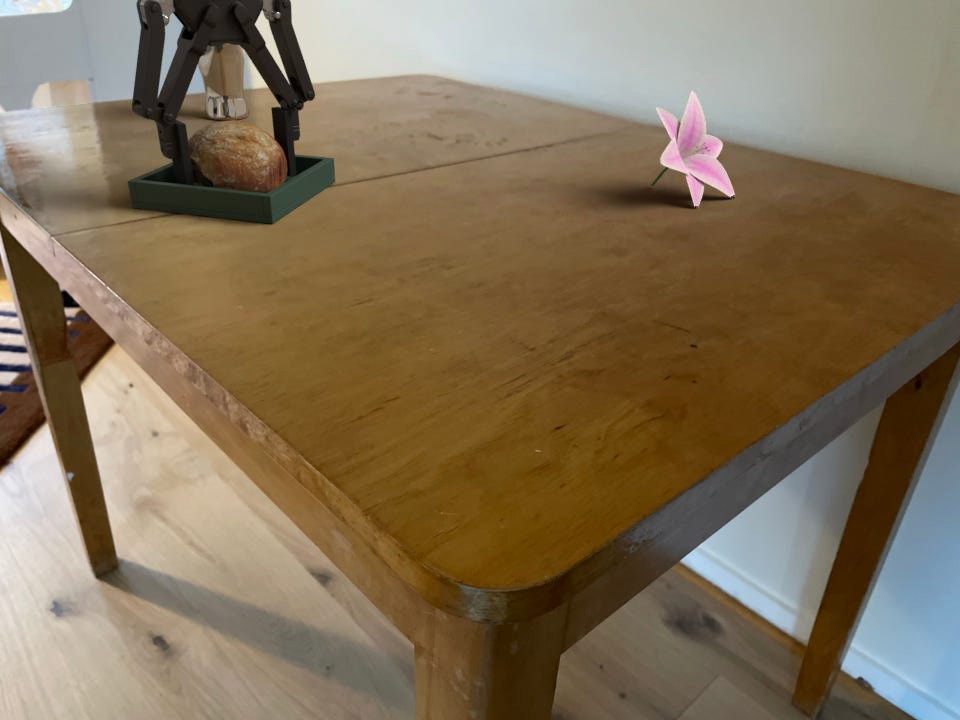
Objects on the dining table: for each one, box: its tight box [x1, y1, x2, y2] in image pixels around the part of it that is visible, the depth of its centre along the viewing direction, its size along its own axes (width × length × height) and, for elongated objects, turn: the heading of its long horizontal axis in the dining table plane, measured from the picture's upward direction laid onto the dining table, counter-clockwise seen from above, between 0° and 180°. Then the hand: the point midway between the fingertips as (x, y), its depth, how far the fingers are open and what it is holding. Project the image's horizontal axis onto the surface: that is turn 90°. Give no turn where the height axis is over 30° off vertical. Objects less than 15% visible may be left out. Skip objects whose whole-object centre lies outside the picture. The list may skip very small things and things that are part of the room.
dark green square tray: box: [127, 153, 336, 225], centre depth 78 cm, size 15×15×3 cm
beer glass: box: [197, 43, 250, 121], centre depth 108 cm, size 7×7×15 cm
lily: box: [650, 90, 736, 207], centre depth 82 cm, size 12×12×10 cm
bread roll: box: [188, 120, 287, 193], centre depth 77 cm, size 10×10×8 cm
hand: (238, 181), depth 78 cm, fingers closed on bread roll, 10 cm apart
